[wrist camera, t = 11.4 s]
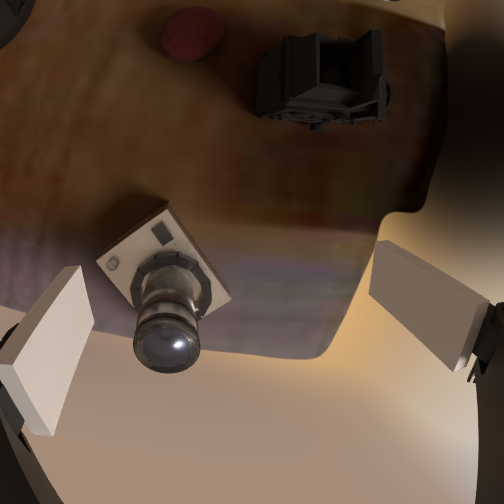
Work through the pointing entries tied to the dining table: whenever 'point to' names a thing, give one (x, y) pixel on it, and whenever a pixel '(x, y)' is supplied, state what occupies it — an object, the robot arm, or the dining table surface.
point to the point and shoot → (163, 260)
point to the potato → (191, 34)
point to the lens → (167, 323)
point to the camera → (324, 80)
